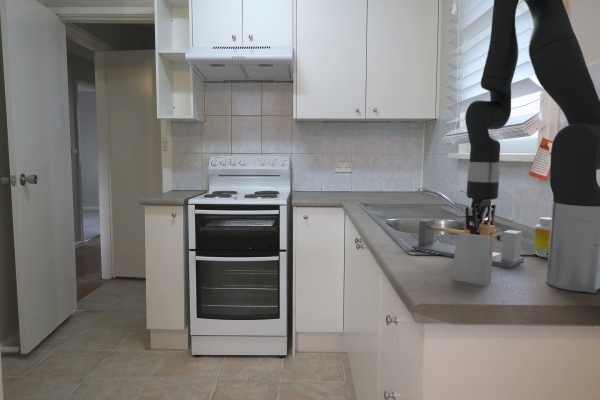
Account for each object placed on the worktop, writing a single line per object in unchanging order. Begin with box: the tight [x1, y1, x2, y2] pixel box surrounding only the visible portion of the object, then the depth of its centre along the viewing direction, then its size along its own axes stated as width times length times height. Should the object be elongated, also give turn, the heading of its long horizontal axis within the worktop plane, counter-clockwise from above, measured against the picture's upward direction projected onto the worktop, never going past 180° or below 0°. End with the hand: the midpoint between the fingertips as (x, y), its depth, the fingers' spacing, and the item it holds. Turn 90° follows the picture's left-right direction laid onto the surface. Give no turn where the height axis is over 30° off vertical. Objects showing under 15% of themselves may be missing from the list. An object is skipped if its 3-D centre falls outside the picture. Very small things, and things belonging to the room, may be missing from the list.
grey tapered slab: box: [452, 233, 493, 287], centre depth 93 cm, size 4×7×10 cm, turn 53°
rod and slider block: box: [411, 218, 525, 269], centre depth 117 cm, size 26×10×8 cm, turn 46°
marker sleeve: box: [463, 223, 496, 247], centre depth 114 cm, size 6×5×5 cm
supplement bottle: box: [532, 216, 552, 259], centre depth 118 cm, size 6×6×10 cm
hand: (478, 244), depth 114 cm, fingers closed on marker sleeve, 5 cm apart
